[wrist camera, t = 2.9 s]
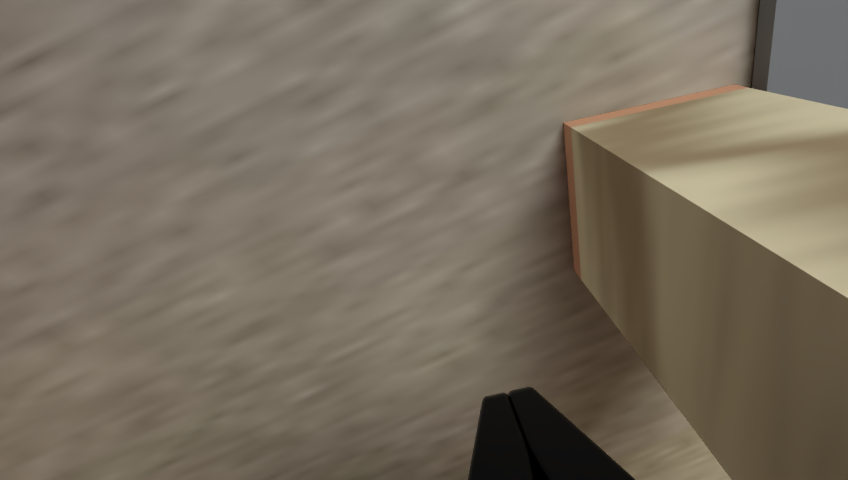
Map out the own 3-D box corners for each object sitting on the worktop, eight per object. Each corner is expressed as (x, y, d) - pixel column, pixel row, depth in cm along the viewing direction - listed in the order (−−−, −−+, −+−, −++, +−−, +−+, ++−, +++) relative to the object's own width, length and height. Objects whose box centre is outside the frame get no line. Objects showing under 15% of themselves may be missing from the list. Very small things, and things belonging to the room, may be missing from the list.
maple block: (574, 270, 16) (821, 599, 7) (563, 123, 14) (901, 330, 5) (722, 237, 16) (1157, 528, 7) (734, 84, 14) (1384, 224, 5)
